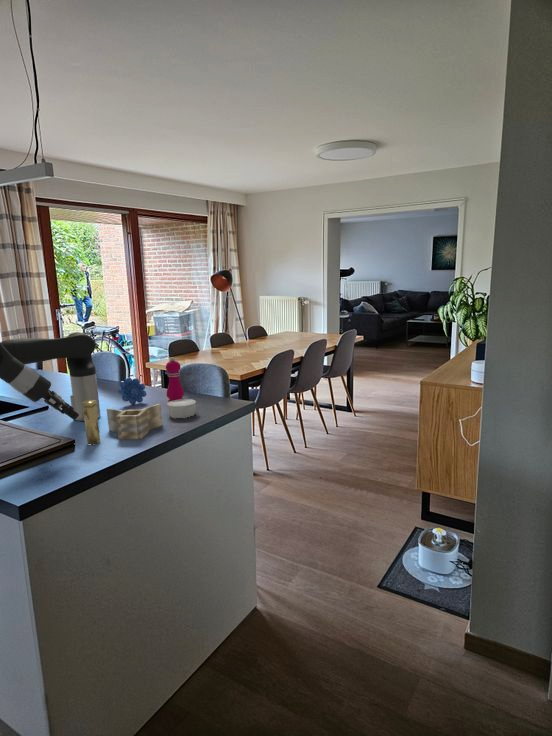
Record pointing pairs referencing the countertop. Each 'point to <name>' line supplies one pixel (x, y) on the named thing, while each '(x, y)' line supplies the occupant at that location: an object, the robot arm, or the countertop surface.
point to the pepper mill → (174, 381)
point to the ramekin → (181, 408)
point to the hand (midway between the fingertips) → (74, 414)
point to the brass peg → (91, 421)
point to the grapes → (132, 390)
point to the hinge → (134, 421)
